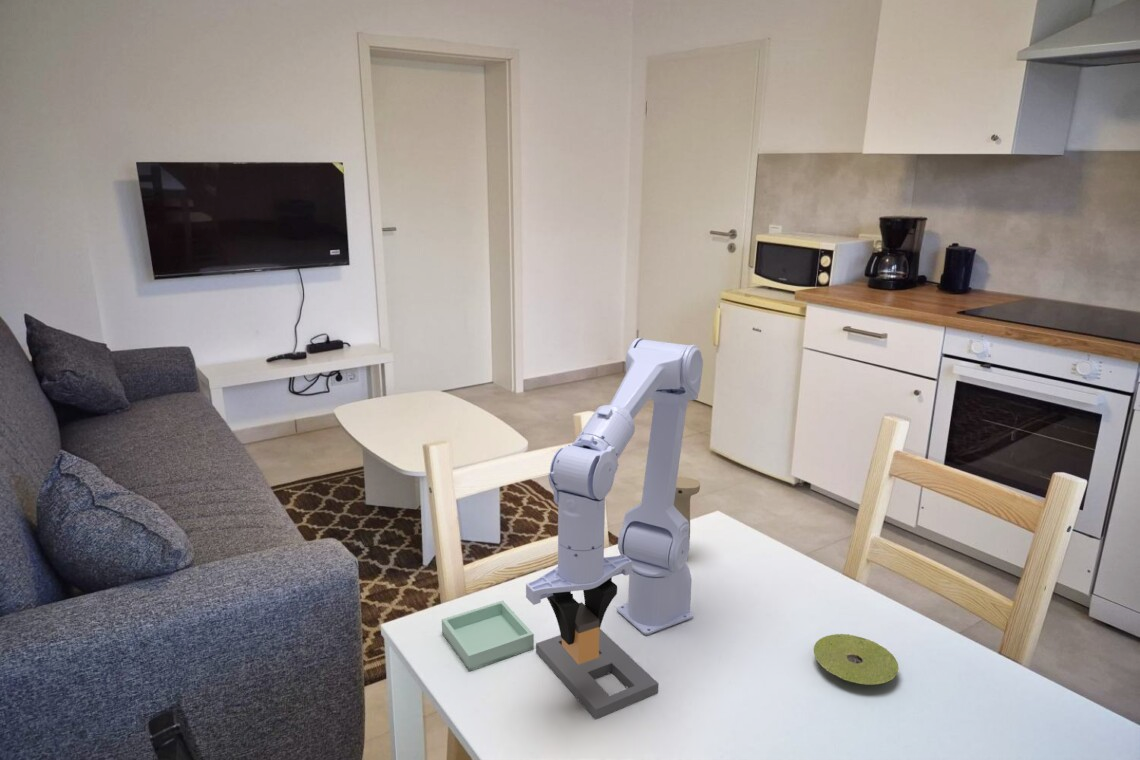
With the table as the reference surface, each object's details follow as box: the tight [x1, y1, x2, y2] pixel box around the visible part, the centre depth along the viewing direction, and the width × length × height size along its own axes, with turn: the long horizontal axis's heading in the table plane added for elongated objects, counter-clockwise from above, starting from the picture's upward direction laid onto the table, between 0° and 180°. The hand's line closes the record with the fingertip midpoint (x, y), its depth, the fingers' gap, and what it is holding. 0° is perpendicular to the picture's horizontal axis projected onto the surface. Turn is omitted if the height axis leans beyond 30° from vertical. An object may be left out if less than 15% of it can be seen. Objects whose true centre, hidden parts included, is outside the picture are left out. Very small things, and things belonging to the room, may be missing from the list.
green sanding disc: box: [813, 633, 900, 686], centre depth 106 cm, size 11×11×2 cm
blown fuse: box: [562, 602, 599, 665], centre depth 96 cm, size 3×4×6 cm, turn 28°
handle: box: [674, 476, 701, 541], centre depth 133 cm, size 5×6×15 cm
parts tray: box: [441, 600, 535, 672], centre depth 111 cm, size 10×10×2 cm
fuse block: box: [535, 628, 659, 720], centre depth 105 cm, size 10×16×2 cm, turn 31°
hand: (579, 635), depth 96 cm, fingers closed on blown fuse, 3 cm apart
